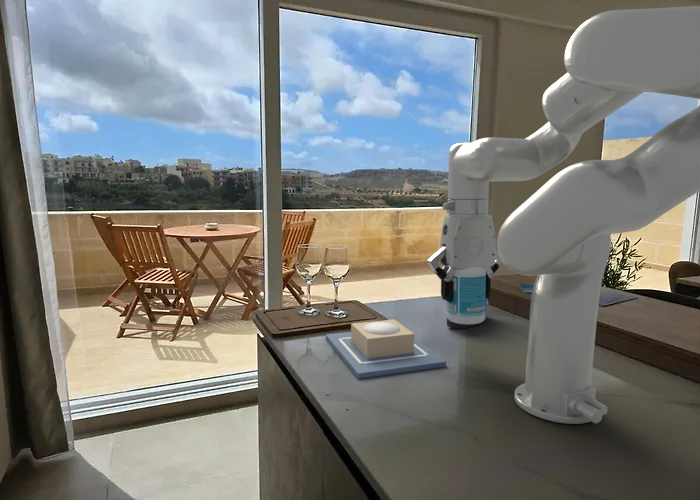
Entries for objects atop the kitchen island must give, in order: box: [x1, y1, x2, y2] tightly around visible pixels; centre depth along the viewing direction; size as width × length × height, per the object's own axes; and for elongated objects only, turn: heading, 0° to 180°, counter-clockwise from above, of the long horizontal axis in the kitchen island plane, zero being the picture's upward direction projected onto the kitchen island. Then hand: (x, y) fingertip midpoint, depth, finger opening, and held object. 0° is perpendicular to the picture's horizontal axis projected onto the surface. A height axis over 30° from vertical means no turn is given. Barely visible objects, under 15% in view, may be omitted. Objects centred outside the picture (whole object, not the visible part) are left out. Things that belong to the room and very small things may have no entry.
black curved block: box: [446, 298, 489, 330], centre depth 116 cm, size 16×5×9 cm, turn 134°
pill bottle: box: [446, 267, 486, 324], centre depth 92 cm, size 8×7×14 cm
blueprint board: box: [325, 319, 447, 380], centre depth 98 cm, size 22×18×5 cm
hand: (465, 298), depth 92 cm, fingers closed on pill bottle, 7 cm apart
